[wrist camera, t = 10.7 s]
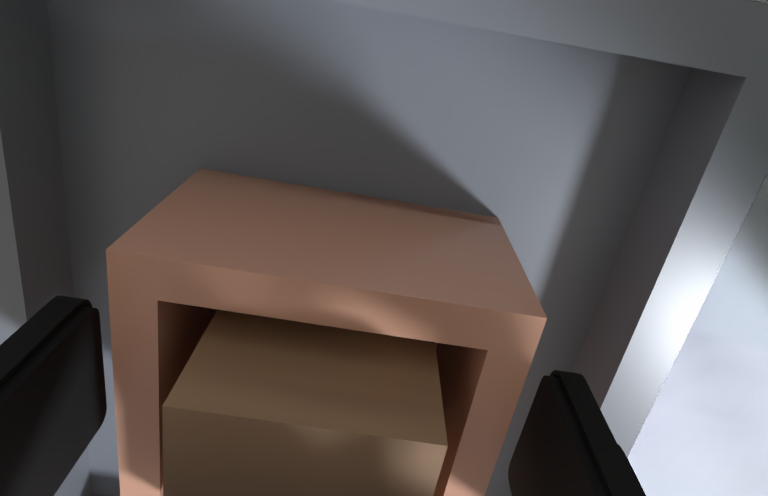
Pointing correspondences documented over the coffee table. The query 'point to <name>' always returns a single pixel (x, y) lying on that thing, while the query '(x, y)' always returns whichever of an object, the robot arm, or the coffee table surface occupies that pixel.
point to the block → (303, 413)
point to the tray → (402, 151)
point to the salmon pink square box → (320, 302)
